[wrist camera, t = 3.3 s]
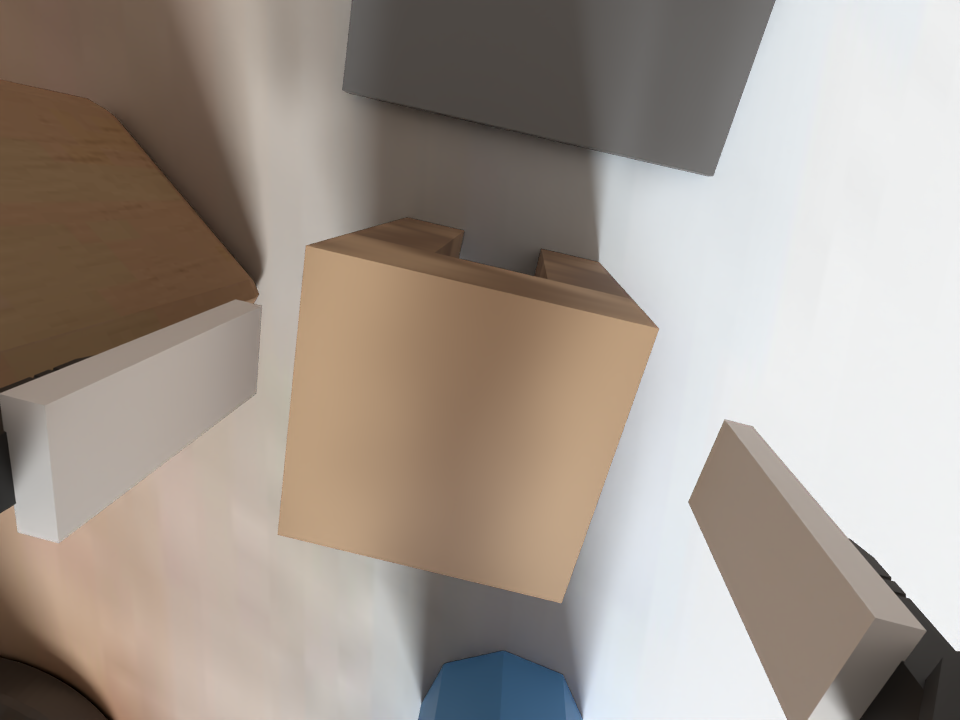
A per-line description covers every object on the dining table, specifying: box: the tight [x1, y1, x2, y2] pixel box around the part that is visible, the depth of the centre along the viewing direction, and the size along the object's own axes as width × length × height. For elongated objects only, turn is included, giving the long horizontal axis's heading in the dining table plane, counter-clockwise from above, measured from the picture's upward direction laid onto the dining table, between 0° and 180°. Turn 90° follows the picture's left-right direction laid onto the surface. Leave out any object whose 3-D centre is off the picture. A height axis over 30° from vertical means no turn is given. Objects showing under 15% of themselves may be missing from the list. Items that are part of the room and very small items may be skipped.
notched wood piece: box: [278, 217, 659, 603], centre depth 17 cm, size 8×8×10 cm
